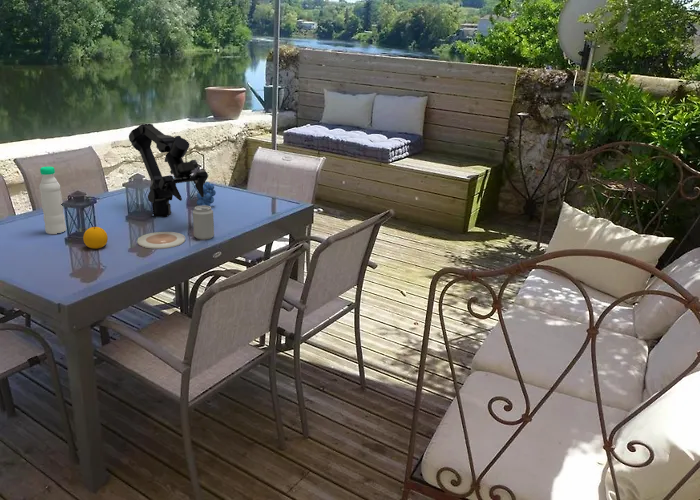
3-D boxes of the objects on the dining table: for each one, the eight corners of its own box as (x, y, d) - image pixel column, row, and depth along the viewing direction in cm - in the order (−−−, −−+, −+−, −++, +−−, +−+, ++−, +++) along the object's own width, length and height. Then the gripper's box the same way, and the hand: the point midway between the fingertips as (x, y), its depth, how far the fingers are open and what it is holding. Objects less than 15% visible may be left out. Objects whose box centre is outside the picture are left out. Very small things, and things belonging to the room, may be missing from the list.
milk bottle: (70, 231, 219) (62, 166, 210) (54, 236, 213) (45, 170, 204) (57, 227, 222) (48, 164, 213) (41, 232, 216) (31, 167, 207)
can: (202, 241, 214) (201, 211, 210) (190, 237, 218) (188, 207, 214) (218, 237, 220) (217, 207, 216) (205, 232, 224) (204, 203, 220)
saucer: (129, 247, 205) (129, 245, 205) (148, 232, 221) (148, 230, 221) (176, 250, 205) (176, 247, 204) (191, 235, 221) (191, 232, 220)
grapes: (208, 204, 261) (206, 178, 257) (219, 206, 258) (218, 180, 254) (190, 210, 252) (188, 183, 247) (202, 212, 249) (200, 185, 245)
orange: (82, 251, 200) (79, 230, 197) (87, 243, 207) (84, 223, 205) (106, 250, 202) (104, 230, 199) (110, 243, 209) (108, 223, 206)
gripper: (160, 155, 212) (175, 190, 208) (205, 150, 224) (220, 184, 220) (152, 172, 220) (167, 206, 216) (196, 166, 232) (211, 199, 228)
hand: (192, 198), depth 220 cm, fingers open, 9 cm apart
